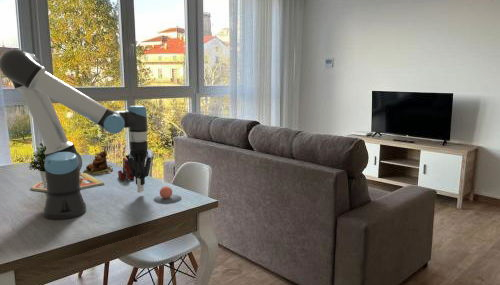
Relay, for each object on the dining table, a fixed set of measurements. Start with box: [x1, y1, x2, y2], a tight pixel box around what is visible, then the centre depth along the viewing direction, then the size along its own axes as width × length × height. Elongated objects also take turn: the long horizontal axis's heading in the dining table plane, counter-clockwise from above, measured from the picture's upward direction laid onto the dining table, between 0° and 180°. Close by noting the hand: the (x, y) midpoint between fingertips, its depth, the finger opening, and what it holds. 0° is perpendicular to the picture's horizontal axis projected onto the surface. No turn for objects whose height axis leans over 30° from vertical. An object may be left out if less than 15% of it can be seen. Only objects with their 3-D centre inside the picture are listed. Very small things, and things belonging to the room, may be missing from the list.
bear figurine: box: [82, 149, 114, 176], centre depth 210 cm, size 14×15×12 cm
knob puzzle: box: [30, 171, 105, 193], centre depth 186 cm, size 29×30×4 cm
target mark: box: [153, 193, 182, 204], centre depth 167 cm, size 12×12×1 cm
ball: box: [159, 185, 173, 199], centre depth 168 cm, size 6×6×6 cm
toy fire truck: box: [117, 157, 135, 182], centre depth 197 cm, size 7×12×10 cm, turn 27°
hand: (140, 191), depth 171 cm, fingers closed
